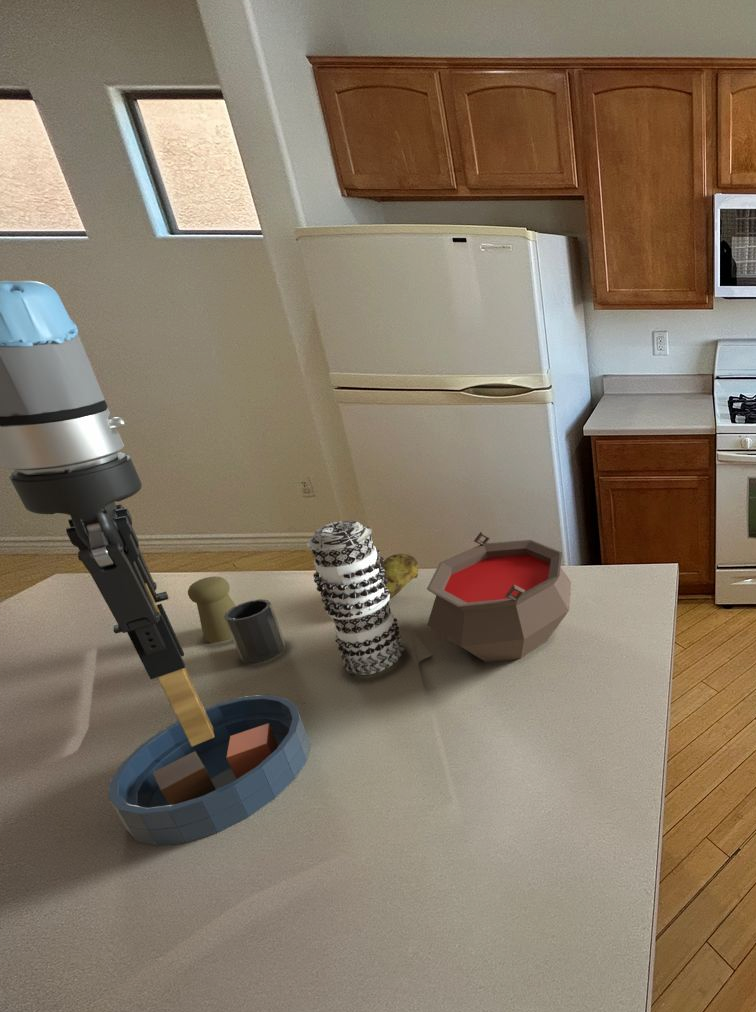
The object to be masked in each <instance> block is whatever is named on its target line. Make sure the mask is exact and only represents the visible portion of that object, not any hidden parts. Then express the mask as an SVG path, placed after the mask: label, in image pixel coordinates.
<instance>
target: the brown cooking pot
mask: <svg viewBox="0 0 756 1012" xmlns="http://www.w3.org/2000/svg"><path fill="white" fill-rule="evenodd" d="M482 537H483V538H485V539H484V540H483V541H482V540H481V538H482ZM491 538H492V536H491V535H489V534H488V533H485V532H484V531H481V530H480V532H479V533H478V534H477V536H476V537H475V538H474V540H473V542H474V543H477V544H479V545H477V546H473V547H472V548H470V549H467V550H466V551H463V552H461V553H458V554H456V555H454V556H451V557H449V558H447V559H445V560H443V561H441V562H439V563H438V566H437V567H436V569H435V572H434V574H433V576H432V577H431V578H430V579H431V580H430V582H429V584H428V585H427V587H426V590H427V591H428V592H430V593H431V594H432V595H434V596H435V598H434V601H433V605H432V608H431V611H430V614H429V617H428V621H427V625H426V626H427V627H428V628H430V629H432V630H433V631H435V632H437V633H438V634H439V635H441V636H443V637H444V638H446V639H448V640H449V641H451V642H452V643H454V644H455V645H457V646H459V647H460V648H462V649H464V650H465V651H467V652H469V653H470V654H471V655H473V656H475V657H477V658H478V659H479V660H481V661H483V662H485V663H494V662H504V661H512V660H521V659H523V658H524V657H526V656H527V655H529V654H530V653H532V652H533V651H535V650H536V649H537V648H539V647H541V646H542V645H544V644H545V643H546V642H548V641H549V639H550V638H551V636H552V635H553V633H555V631H556V629H557V628H558V627H559V625H560V624H561V622H562V621H563V620H564V619H565V617H566V616H567V615H568V613H569V611H570V601H571V589H572V581H571V580H570V578H569V577H568V575H567V574H566V572H565V571H564V570H563V568H562V558H563V551H560V550H557V549H555V548H553V547H550V546H548V545H545V544H542V543H540V542H538V541H535V540H533V539H523V540H512V541H511V540H510V541H499V542H498V541H497V542H489V540H491Z"/></svg>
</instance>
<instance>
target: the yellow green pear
mask: <svg viewBox="0 0 756 1012" xmlns="http://www.w3.org/2000/svg"><path fill="white" fill-rule="evenodd" d="M383 561H384V563H383V564H382V565H381V568H384V569H385V571H386V574H385V575H384V577H387V578H388V580H387V581H388V583H387V584H386V585H385V587H387V588H389V591H390V600H391V599H392V598H394V597H395V596H396V595H398V594H399V593H400V592H401V591H402V590H403V589H404V588H405V587H406V586H407V585H408V584H409V583H410V582H411V581H412V580H413V579H416V578H418V576H419V574H418V572H419V562H418V560H417V558H416V557H414V556H413V555H411V554H409V553H395V554H392V555H390V556H388V557H386V558H384V560H383ZM382 582H383V581H382Z"/></svg>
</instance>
